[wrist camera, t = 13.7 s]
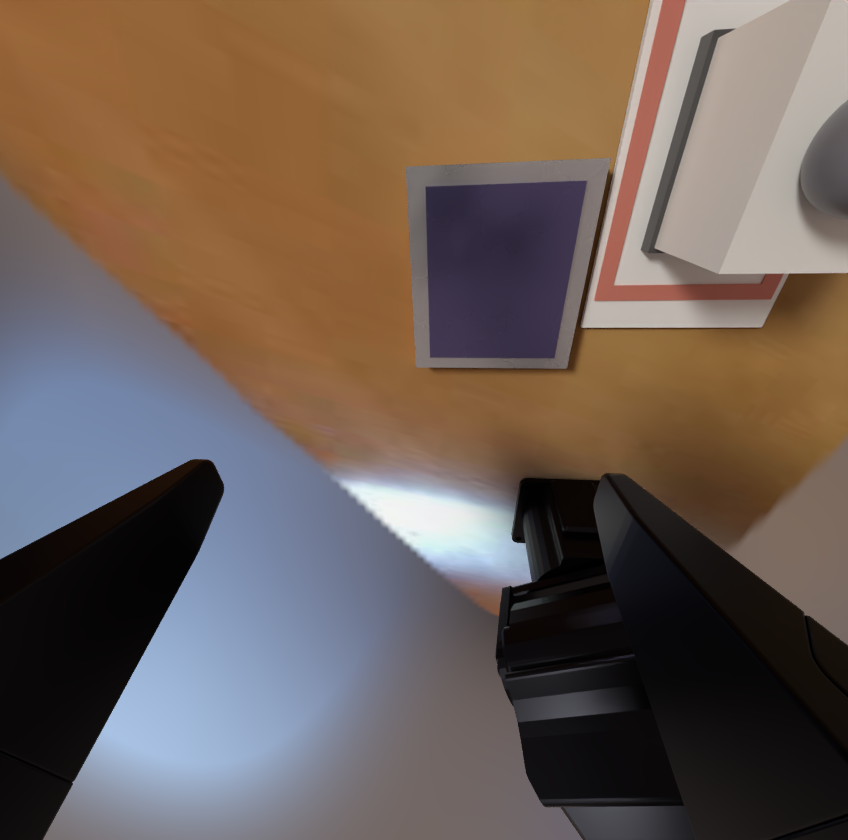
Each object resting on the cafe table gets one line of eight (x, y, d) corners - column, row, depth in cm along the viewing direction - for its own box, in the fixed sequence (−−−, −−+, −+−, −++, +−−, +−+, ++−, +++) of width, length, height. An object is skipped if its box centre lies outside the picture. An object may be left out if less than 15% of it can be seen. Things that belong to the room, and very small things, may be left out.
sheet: (757, 325, 18) (763, 328, 18) (580, 325, 19) (582, 328, 19) (999, -157, 10) (1016, -167, 10) (676, -122, 11) (683, -130, 11)
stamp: (852, 27, 12) (1334, -150, 5) (754, 248, 16) (965, 304, 9) (701, 37, 13) (975, -117, 6) (640, 250, 16) (763, 304, 10)
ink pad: (561, 359, 20) (567, 370, 19) (418, 358, 21) (415, 369, 20) (601, 158, 15) (613, 157, 14) (409, 166, 16) (405, 166, 14)
